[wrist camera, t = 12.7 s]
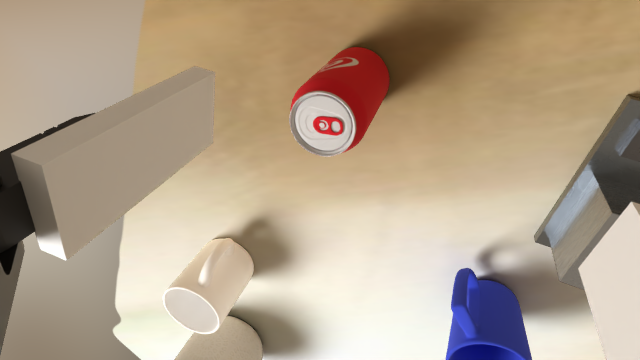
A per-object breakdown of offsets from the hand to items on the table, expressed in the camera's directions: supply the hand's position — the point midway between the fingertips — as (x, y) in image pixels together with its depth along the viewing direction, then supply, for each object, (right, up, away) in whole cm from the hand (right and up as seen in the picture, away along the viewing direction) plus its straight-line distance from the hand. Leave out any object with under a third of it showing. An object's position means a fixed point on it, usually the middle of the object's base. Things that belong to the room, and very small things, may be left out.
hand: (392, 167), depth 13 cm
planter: (-16, -27, +56) cm, 64 cm away
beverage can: (+2, +10, +27) cm, 28 cm away
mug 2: (+17, -13, +35) cm, 41 cm away
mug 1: (-15, -11, +46) cm, 49 cm away
